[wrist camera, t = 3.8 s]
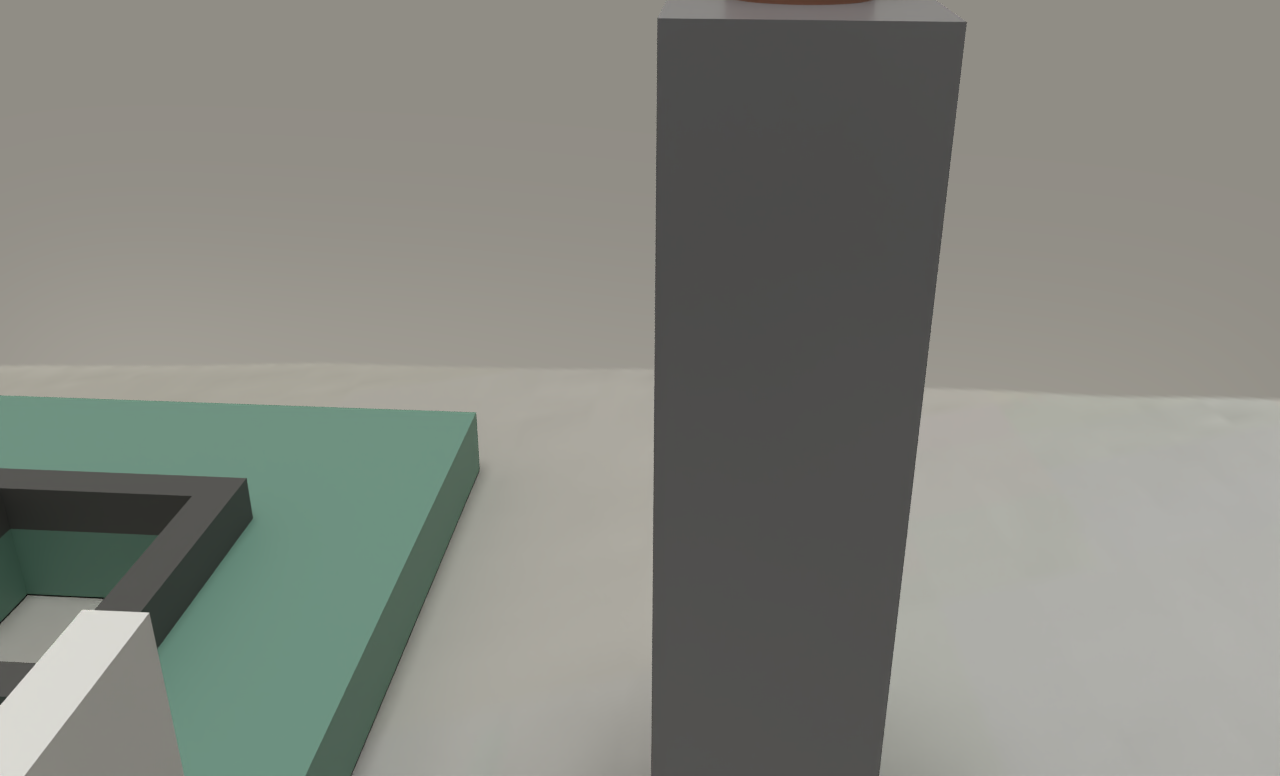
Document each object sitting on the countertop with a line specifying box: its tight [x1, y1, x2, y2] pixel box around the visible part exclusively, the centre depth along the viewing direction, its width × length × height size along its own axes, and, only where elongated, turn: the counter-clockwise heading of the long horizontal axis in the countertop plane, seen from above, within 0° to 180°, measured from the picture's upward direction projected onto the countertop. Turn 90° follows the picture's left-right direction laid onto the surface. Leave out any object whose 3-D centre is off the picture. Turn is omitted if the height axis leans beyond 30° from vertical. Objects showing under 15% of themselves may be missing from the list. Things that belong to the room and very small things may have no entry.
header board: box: [0, 395, 480, 776], centre depth 26 cm, size 22×16×3 cm
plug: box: [651, 0, 967, 776], centre depth 18 cm, size 5×4×19 cm, turn 176°
